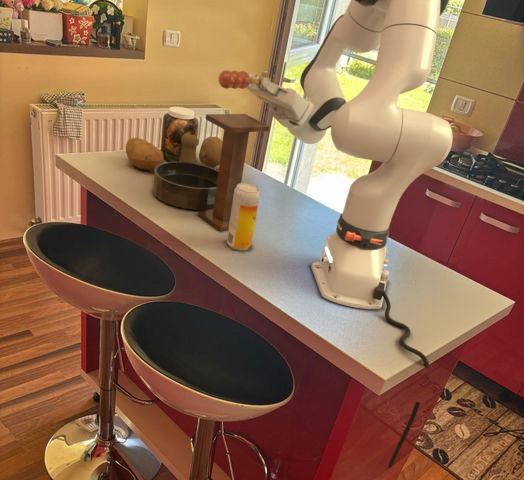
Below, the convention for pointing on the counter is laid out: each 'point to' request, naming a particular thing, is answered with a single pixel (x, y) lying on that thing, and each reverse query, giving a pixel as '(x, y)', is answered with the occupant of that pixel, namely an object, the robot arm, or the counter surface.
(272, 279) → the counter surface
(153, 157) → the potato
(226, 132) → the walnut stand
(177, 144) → the jar
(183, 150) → the cork
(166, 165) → the round cake pan
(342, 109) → the robot arm
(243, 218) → the beer can
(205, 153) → the round brown potato
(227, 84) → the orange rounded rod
